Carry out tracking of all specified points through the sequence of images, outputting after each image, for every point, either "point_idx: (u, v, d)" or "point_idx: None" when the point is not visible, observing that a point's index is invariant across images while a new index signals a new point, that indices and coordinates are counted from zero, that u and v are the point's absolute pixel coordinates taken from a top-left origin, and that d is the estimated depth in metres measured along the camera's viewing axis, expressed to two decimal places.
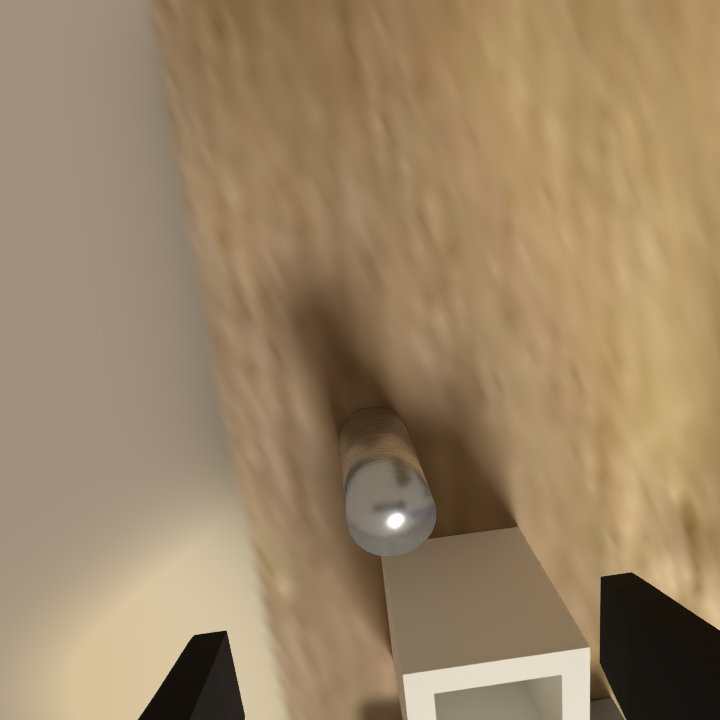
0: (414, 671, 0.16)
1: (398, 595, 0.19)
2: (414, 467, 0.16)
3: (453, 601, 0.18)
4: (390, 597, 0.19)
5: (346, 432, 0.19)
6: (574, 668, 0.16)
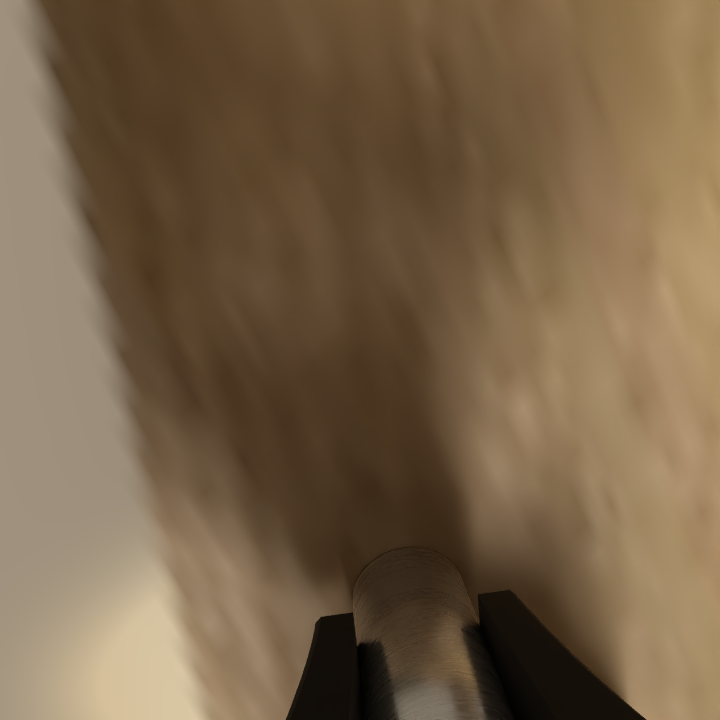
0: None
1: None
2: None
3: None
4: None
5: (365, 599, 0.11)
6: None
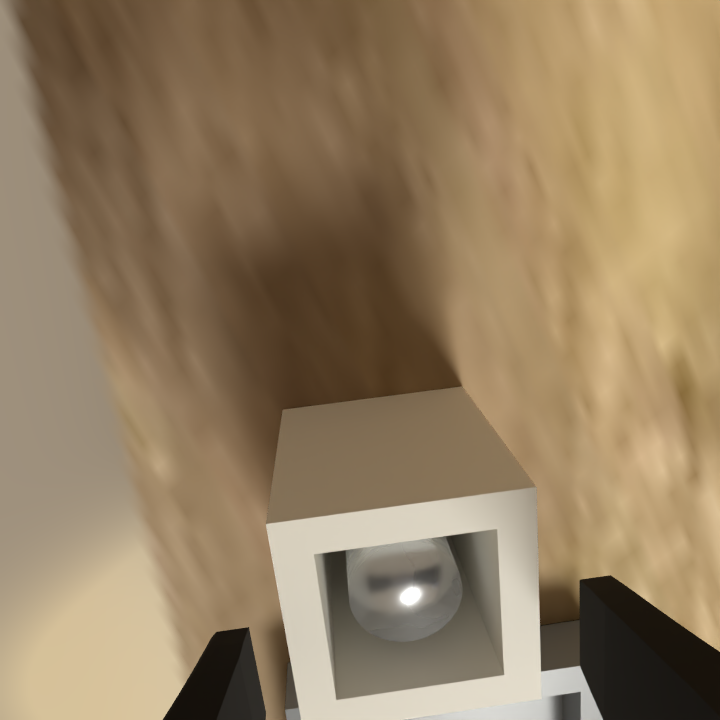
0: (284, 520, 0.11)
1: (289, 449, 0.14)
2: None
3: (359, 452, 0.13)
4: (278, 451, 0.14)
5: None
6: (514, 519, 0.11)
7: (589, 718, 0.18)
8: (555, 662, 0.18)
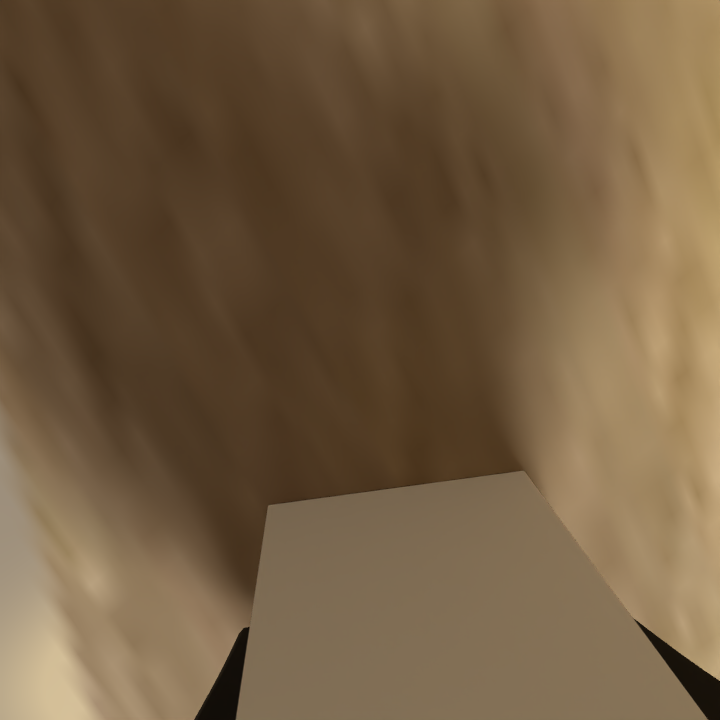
0: None
1: (274, 599, 0.09)
2: None
3: (386, 613, 0.08)
4: (256, 604, 0.09)
5: None
6: None
7: None
8: None
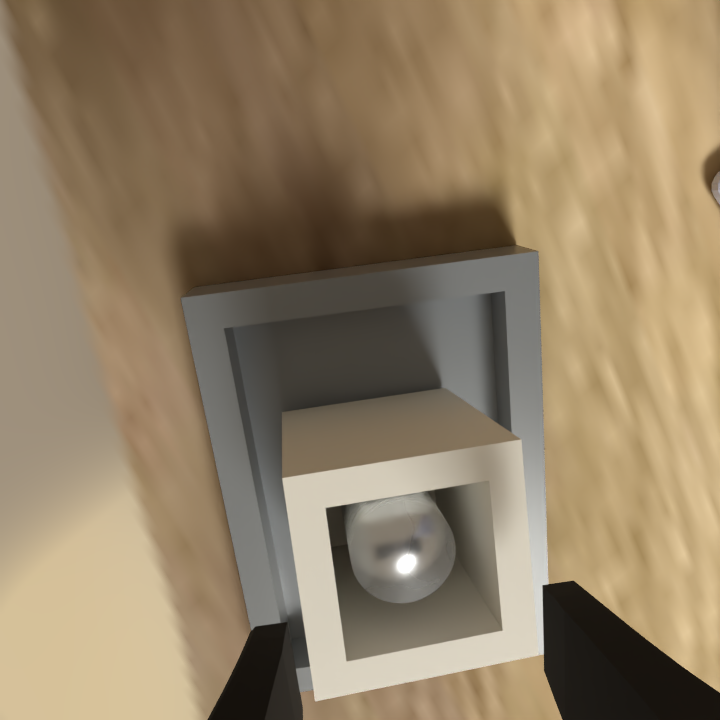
0: (298, 475, 0.12)
1: (294, 435, 0.15)
2: (429, 498, 0.14)
3: (359, 431, 0.15)
4: (283, 437, 0.15)
5: None
6: (504, 471, 0.13)
7: (516, 328, 0.17)
8: (476, 258, 0.16)
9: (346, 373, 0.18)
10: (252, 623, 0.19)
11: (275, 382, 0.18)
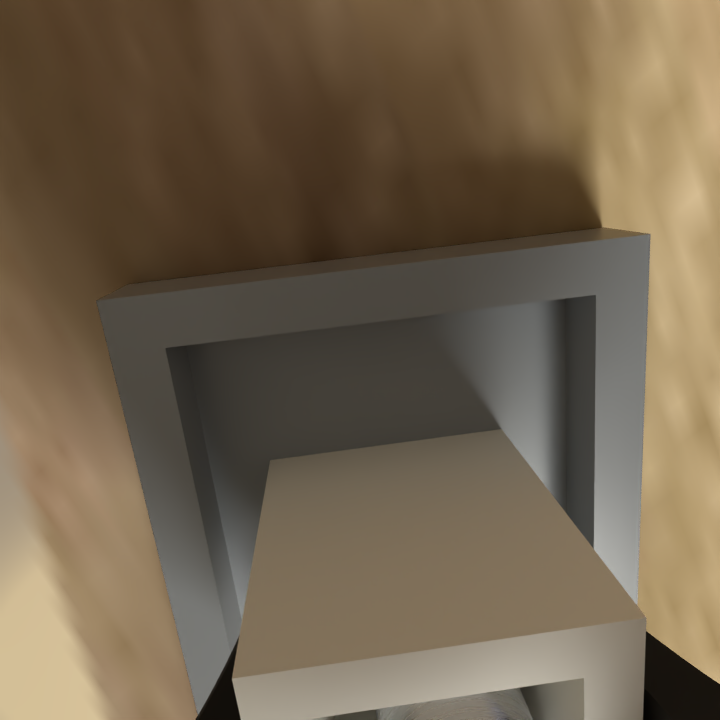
0: (260, 671, 0.07)
1: (275, 530, 0.10)
2: None
3: (373, 538, 0.10)
4: (259, 534, 0.10)
5: None
6: (611, 664, 0.07)
7: (609, 351, 0.11)
8: (554, 244, 0.11)
9: (352, 411, 0.13)
10: None
11: (248, 424, 0.13)
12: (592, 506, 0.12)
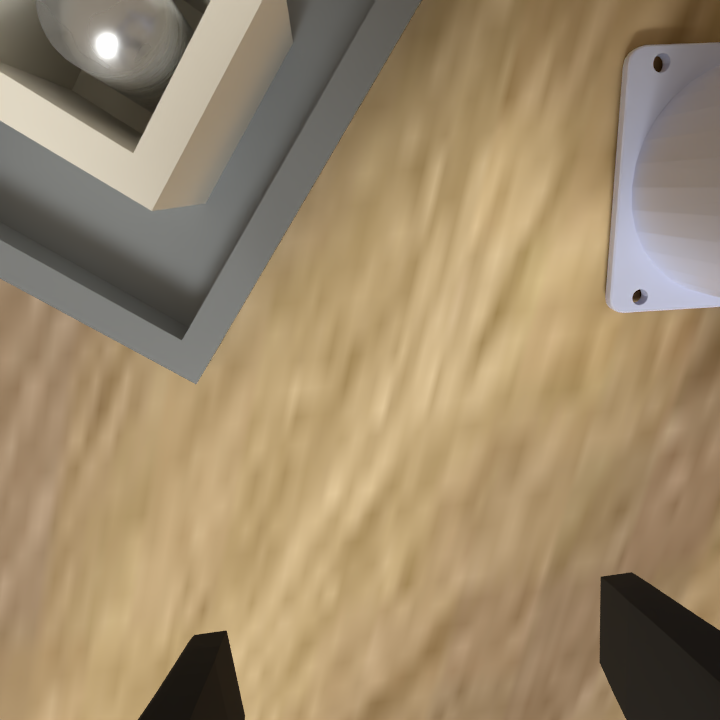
0: None
1: None
2: (176, 24, 0.12)
3: None
4: None
5: None
6: None
7: (388, 0, 0.15)
8: None
9: None
10: None
11: None
12: (311, 112, 0.16)
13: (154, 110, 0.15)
